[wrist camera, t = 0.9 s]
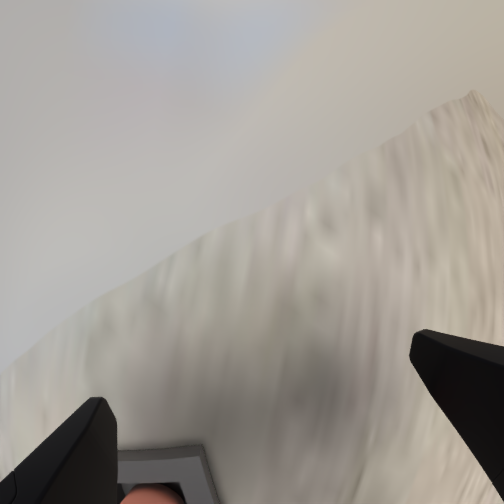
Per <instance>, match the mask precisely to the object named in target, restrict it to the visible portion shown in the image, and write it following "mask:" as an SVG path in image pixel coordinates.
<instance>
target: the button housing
mask: <svg viewBox="0 0 504 504" xmlns="http://www.w3.org/2000/svg"><path fill="white" fill-rule="evenodd" d="M117 452H118V481H117V500H116V504H120V503H121V502H122V501H123V499H124V498H125V497H126V495H127V494H128V493H129V491H130V490H131V489H132V488H133V487H134V486H136V485H138V484H140V483H158V484H162V485H164V486H167V487H169V488H171V489H172V490H174V491H175V492H176V493H177V494H178V495H179V496H180V497H181V498H182V500H183V501H184V503H185V504H220V503H219V500H218V497H217V494H216V491H215V487H214V484H213V481H212V478H211V474H210V471H209V467H208V464H207V460H206V457H205V453H204V450H203V446H202V444H201V445H193V446H185V447H176V448H165V449H151V450H127V451H117Z"/></svg>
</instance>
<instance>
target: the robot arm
mask: <svg viewBox="0 0 504 504" xmlns="http://www.w3.org/2000/svg"><path fill="white" fill-rule="evenodd" d="M409 357H410V361H411V363H412V364H413V366H414V368H415V369H416V371H417V373H418V374H419V376H420V378H421V379H422V381H423V383H424V384H425V386H426V388H427V389H428V391H429V393H430V394H431V396H432V397H433V399H434V400H435V401H436V403H437V404H438V406H439V407H440V408H441V410H442V411H443V412H444V414H445V415H446V416H447V418H448V419H449V421H450V422H451V423H452V425H453V426H454V428H455V429H456V430H457V432H458V433H459V435H460V436H461V437H462V439H463V440H464V442H465V443H466V445H467V446H468V447H469V449H470V450H471V452H472V453H473V455H474V456H475V458H476V459H477V461H478V462H479V464H480V465H481V467H482V468H483V470H484V471H485V473H486V474H487V476H488V477H489V479H490V480H491V482H492V484H493V485H494V487H495V489H496V490H497V492H498V493H499V495H500V497H501V498H502V500H503V501H504V346H499V345H494V344H489V343H485V342H480V341H476V340H471V339H467V338H462V337H458V336H453V335H449V334H445V333H440V332H436V331H432V330H428V329H423V330H421V331H418V332H416V333H415V334H414V335H413V338H412V344H411V349H410V354H409ZM117 481H118V452H117V421H116V418H115V416H114V414H113V412H112V410H111V408H110V406H109V405H108V403H107V401H106V399H105V398H103V397H91V398H89V399H88V400H87V401H86V402H85V403H83V404H82V405H81V406H80V407H79V408H78V409H77V410H76V411H75V412H74V413H73V414H72V415H71V416H70V417H69V418H68V419H67V420H65V421H64V422H63V423H62V424H61V425H60V426H59V427H58V428H57V429H56V430H55V431H54V432H53V433H52V434H51V435H50V436H49V437H48V438H46V439H45V440H44V441H43V442H42V443H41V444H40V445H39V446H38V447H37V448H36V449H35V450H34V451H33V452H32V453H31V454H30V455H29V456H28V457H26V458H25V459H24V460H23V461H22V462H21V463H20V464H19V465H18V466H17V467H16V468H15V469H14V471H12V472H11V473H10V474H9V475H7V476H6V477H5V478H4V479H3V480H2V481H1V482H0V504H116V500H117Z"/></svg>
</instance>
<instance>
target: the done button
mask: <svg viewBox="0 0 504 504" xmlns="http://www.w3.org/2000/svg"><path fill="white" fill-rule="evenodd" d="M120 504H185V503H184V501H183V500H182V498H181V497H180V496H179V495H178V494H177V493H176V492H175V491H174V490H172V489H171V488H169V487H167V486H164V485H162V484H158V483H140V484H138V485H136V486H134V487H133V488H132V489H131V490H130V491H129V493H128V494H127V495H126V497H125V498H124V499H123V501H122V502H121V503H120Z"/></svg>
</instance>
